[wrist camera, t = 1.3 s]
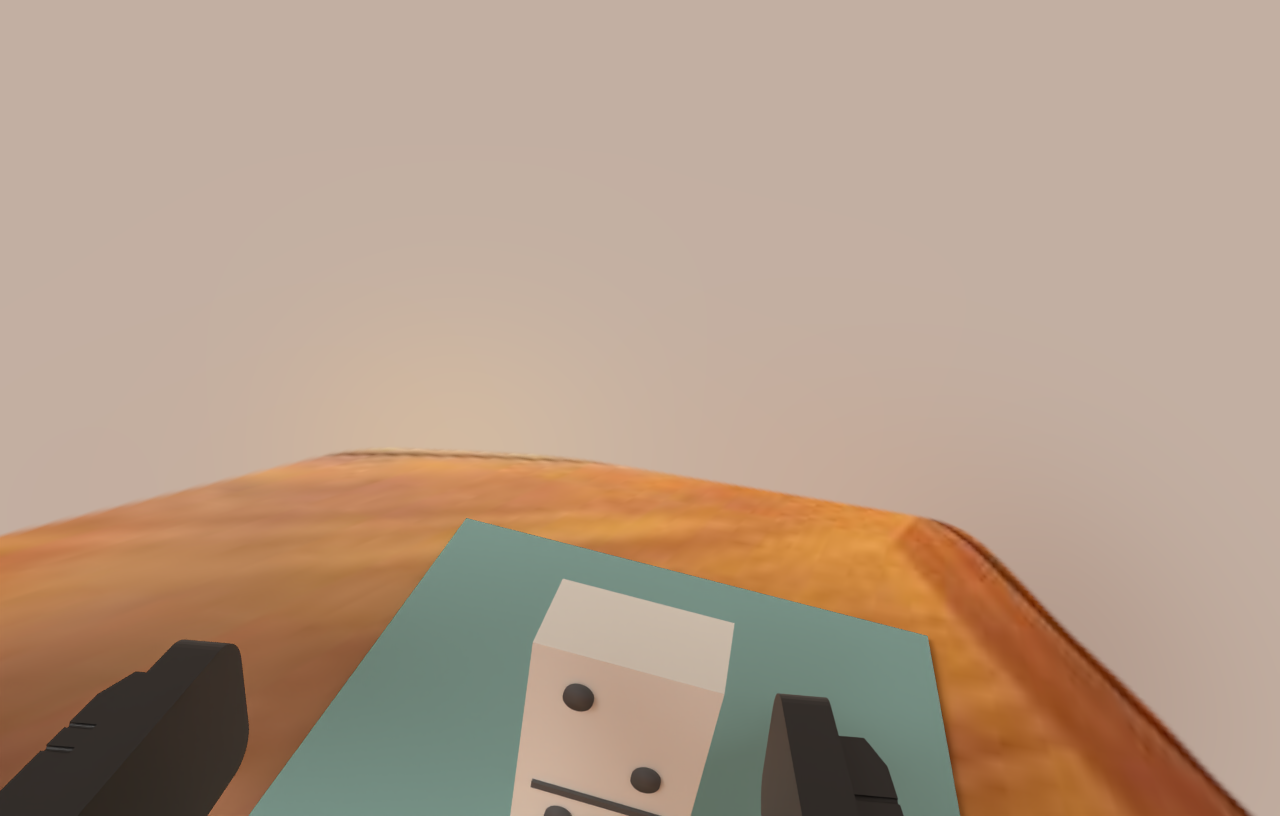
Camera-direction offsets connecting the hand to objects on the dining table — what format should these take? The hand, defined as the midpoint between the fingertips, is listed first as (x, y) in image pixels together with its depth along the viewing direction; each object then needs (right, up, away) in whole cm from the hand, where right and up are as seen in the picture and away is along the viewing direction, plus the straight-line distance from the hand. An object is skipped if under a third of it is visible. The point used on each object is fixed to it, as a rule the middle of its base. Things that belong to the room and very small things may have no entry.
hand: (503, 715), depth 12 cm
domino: (0, -12, +17) cm, 20 cm away
